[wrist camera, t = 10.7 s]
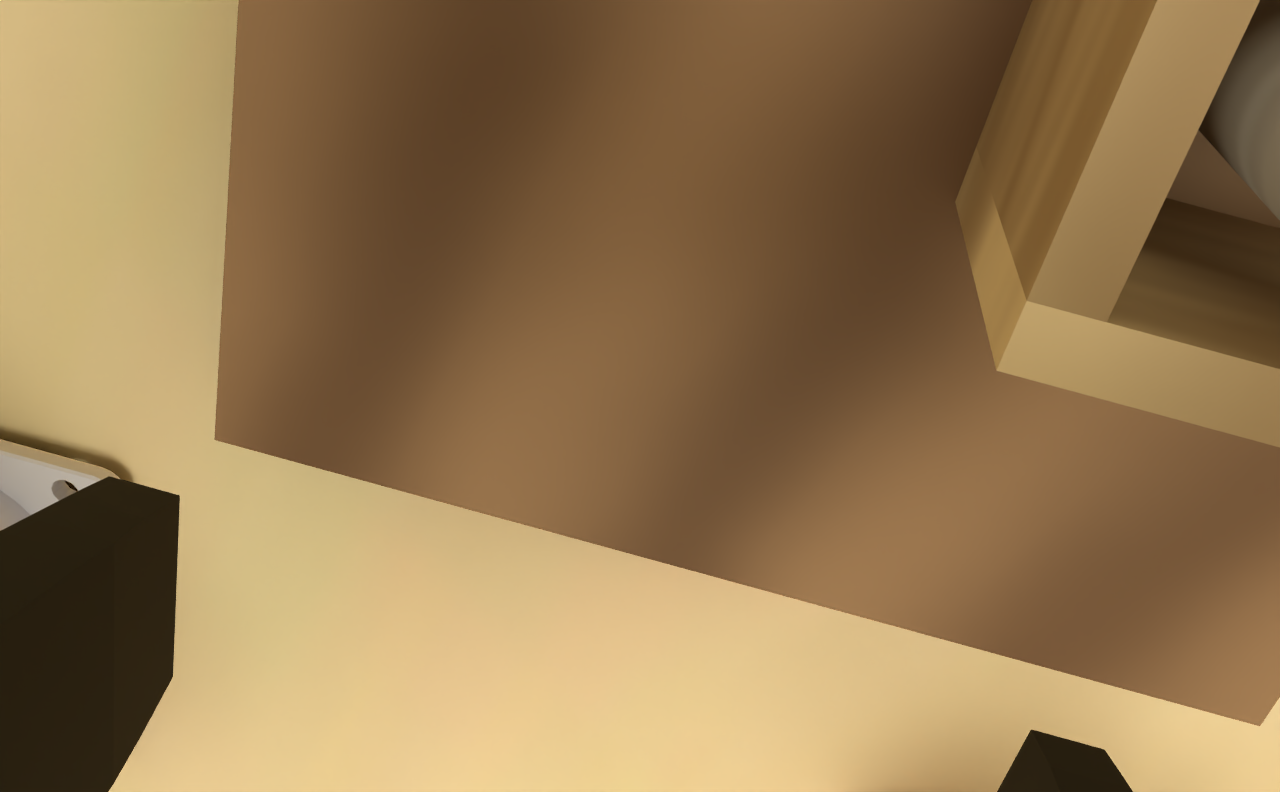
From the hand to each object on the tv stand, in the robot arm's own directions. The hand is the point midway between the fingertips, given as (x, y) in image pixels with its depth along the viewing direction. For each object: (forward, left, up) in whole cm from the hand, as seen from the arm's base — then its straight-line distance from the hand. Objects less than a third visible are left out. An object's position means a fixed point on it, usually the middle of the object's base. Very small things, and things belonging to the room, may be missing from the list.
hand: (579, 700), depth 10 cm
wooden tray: (+2, +2, -10) cm, 10 cm away
